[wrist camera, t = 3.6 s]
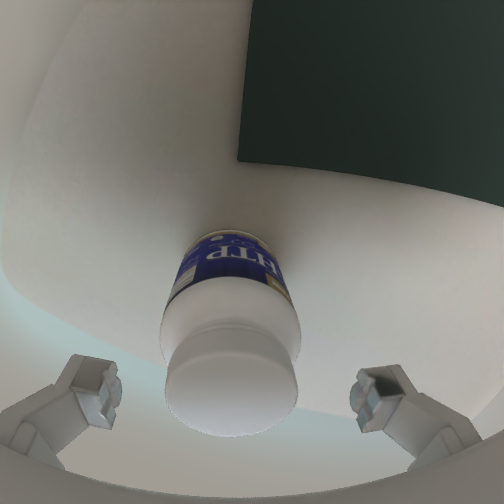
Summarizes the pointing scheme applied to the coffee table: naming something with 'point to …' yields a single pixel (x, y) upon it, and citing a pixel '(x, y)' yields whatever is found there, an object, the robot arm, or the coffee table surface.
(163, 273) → the coffee table surface
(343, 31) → the mat
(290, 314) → the pill bottle
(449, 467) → the robot arm
